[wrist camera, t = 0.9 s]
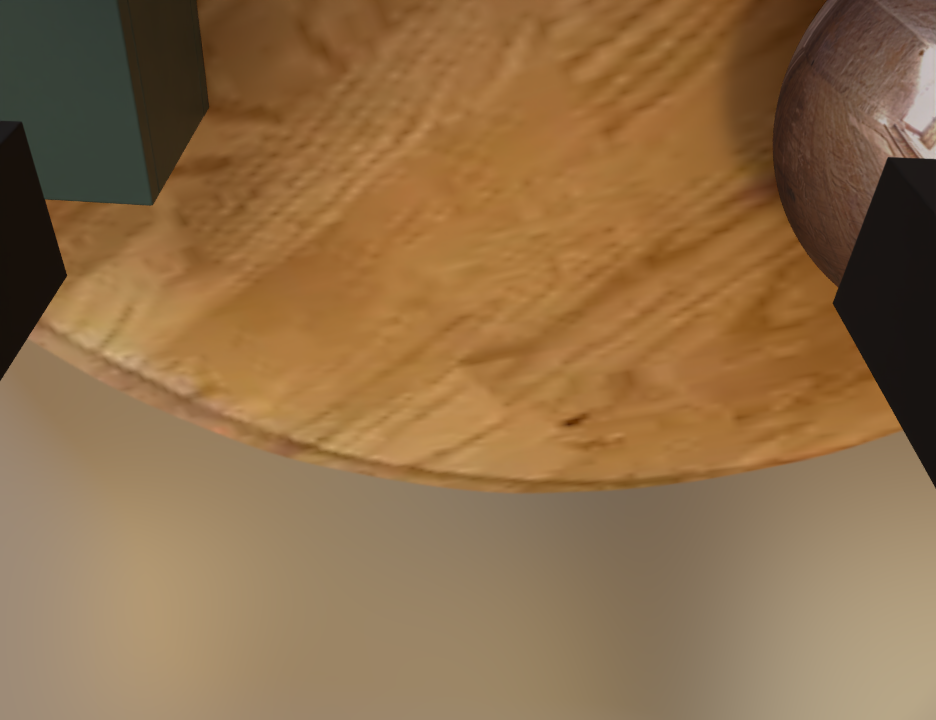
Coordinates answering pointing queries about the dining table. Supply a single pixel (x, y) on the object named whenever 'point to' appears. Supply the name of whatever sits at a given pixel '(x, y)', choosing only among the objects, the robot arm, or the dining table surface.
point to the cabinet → (103, 92)
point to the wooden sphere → (852, 117)
